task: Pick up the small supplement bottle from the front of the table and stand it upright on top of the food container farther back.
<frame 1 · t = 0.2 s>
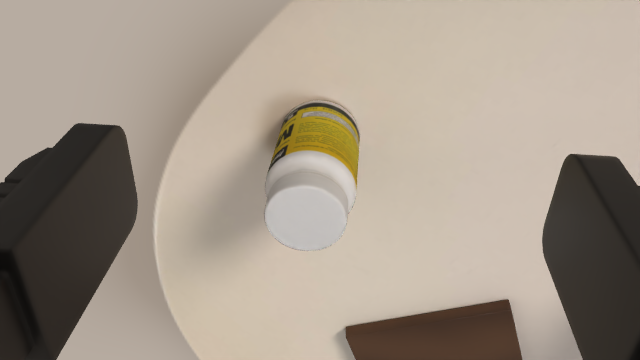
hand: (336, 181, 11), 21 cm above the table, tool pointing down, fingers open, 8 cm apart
supplement bottle: (320, 132, 34), on the table
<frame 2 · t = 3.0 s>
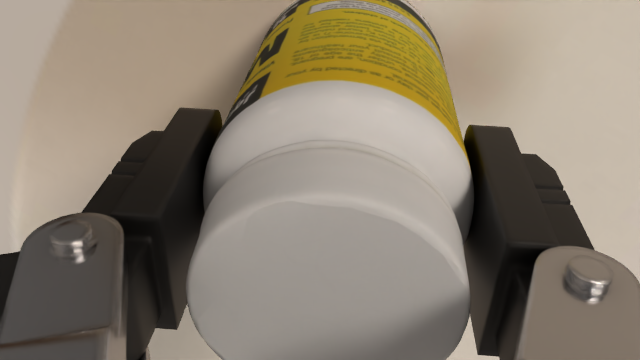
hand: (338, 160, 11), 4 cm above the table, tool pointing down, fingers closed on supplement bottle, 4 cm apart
supplement bottle: (349, 71, 15), on the table, touching gripper
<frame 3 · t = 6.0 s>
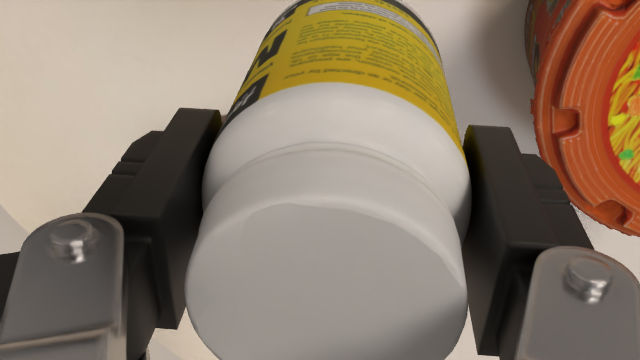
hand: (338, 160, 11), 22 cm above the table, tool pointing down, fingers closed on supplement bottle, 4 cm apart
supplement bottle: (348, 72, 15), point 18 cm above the table, touching gripper
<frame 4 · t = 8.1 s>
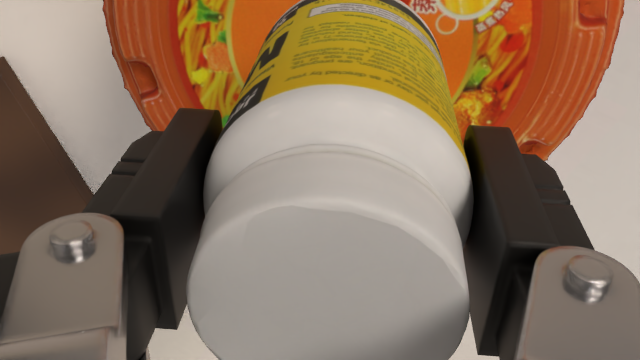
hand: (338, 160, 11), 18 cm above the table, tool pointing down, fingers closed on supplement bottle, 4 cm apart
supplement bottle: (349, 73, 15), point 13 cm above the table, touching gripper
when the fingers open (15 cm above the table, at t = 9.2 s): supplement bottle stays where it is, resting on food container.
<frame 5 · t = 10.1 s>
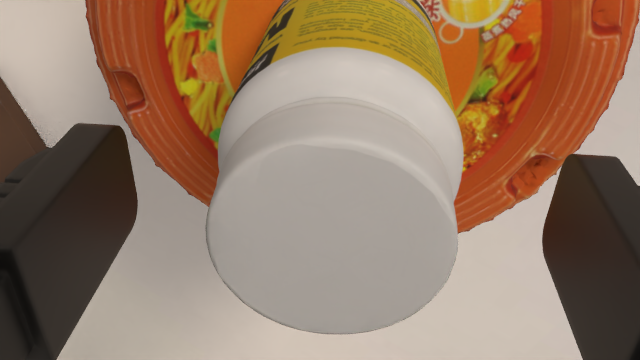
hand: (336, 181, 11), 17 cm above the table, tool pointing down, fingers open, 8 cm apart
supplement bottle: (350, 52, 16), point 11 cm above the table, touching food container
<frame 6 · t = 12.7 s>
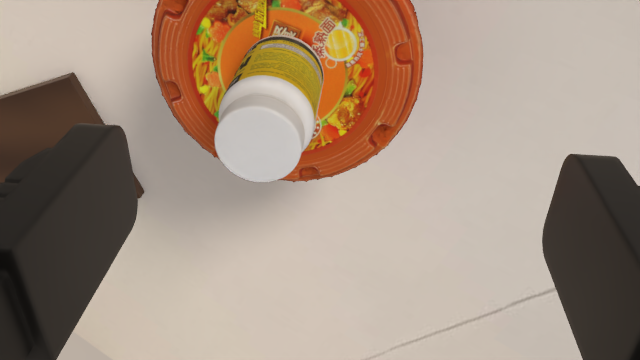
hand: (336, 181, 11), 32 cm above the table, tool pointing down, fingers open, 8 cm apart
supplement bottle: (283, 72, 33), point 11 cm above the table, touching food container
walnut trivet: (52, 152, 50), on the table
food container: (303, 16, 42), on the table, touching supplement bottle
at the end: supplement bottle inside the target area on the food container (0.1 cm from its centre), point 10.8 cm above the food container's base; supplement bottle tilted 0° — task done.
